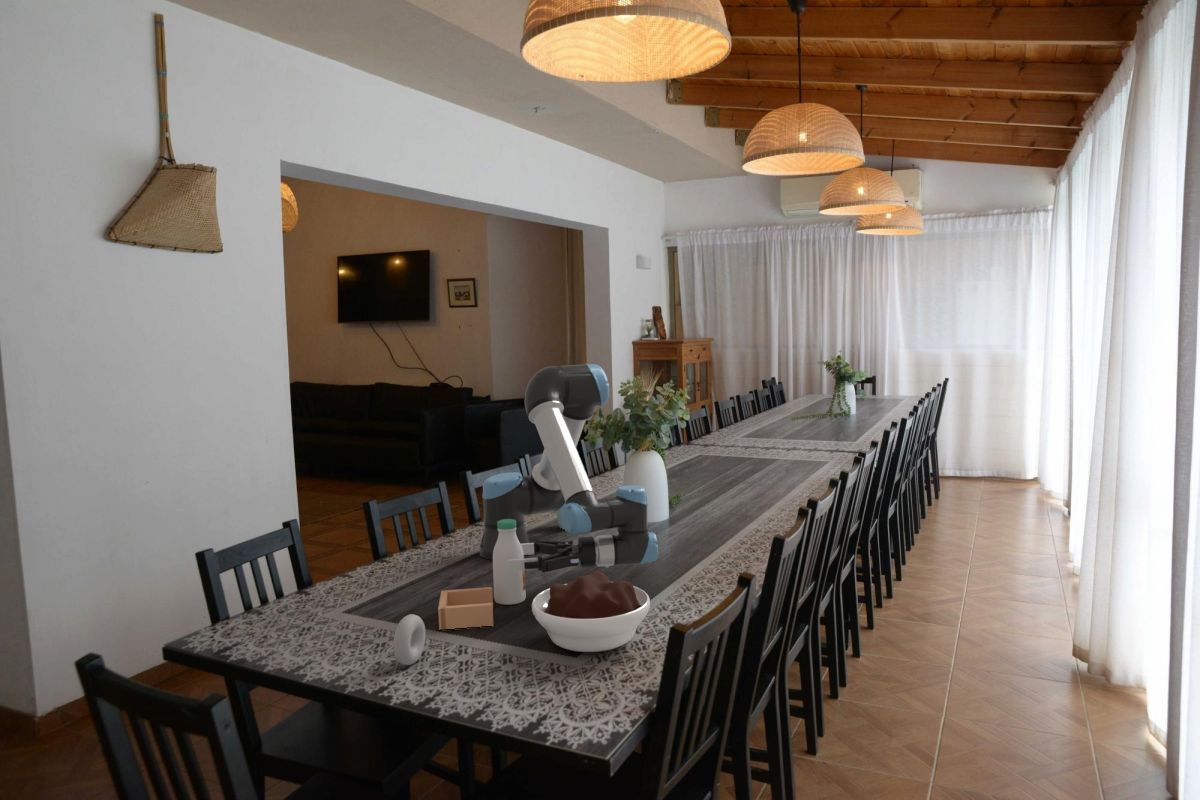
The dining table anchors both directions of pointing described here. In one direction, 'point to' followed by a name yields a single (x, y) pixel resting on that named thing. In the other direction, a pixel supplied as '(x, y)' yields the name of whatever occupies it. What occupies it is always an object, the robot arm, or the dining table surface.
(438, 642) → the dining table surface
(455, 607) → the box
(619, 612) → the bowl of chocolate pudding
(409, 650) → the donut
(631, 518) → the robot arm
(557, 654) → the dining table surface
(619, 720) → the dining table surface
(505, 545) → the milk bottle
